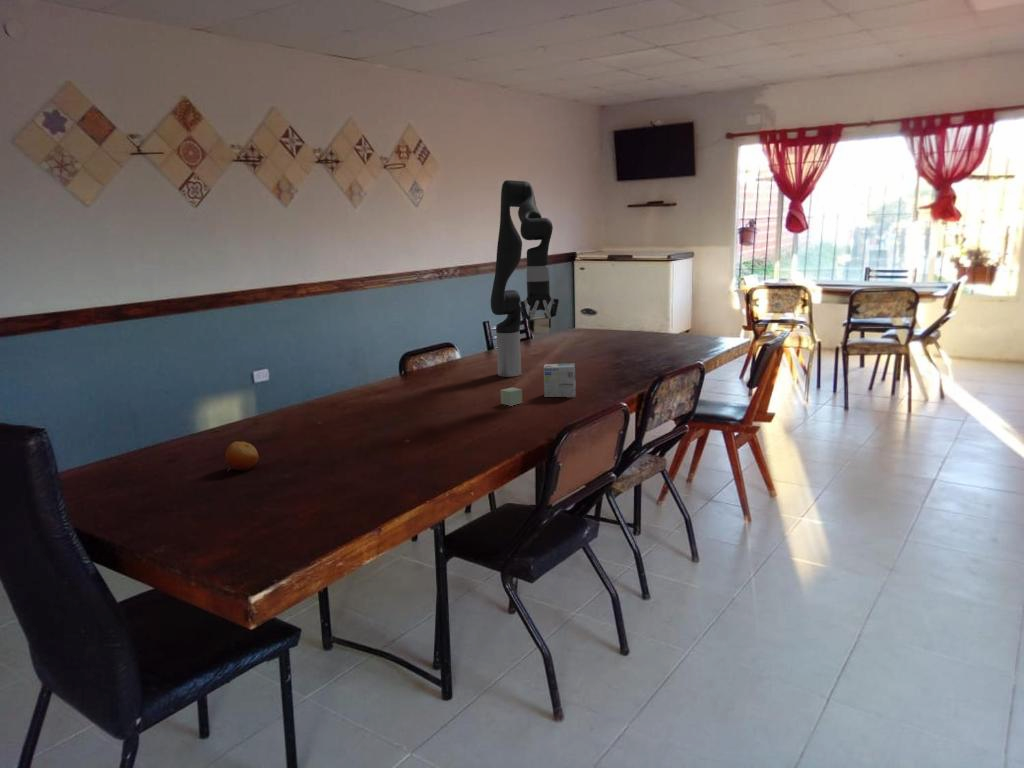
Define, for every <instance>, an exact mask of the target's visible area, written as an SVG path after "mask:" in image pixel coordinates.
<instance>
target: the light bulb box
mask: <svg viewBox="0 0 1024 768" xmlns="http://www.w3.org/2000/svg"><path fill="white" fill-rule="evenodd" d="M542 368H543V394H544V397H567V398H575V397H576V368H575V363H553V364H552V363H549V364H548V363H545V364H544V366H543V367H542Z"/></svg>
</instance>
